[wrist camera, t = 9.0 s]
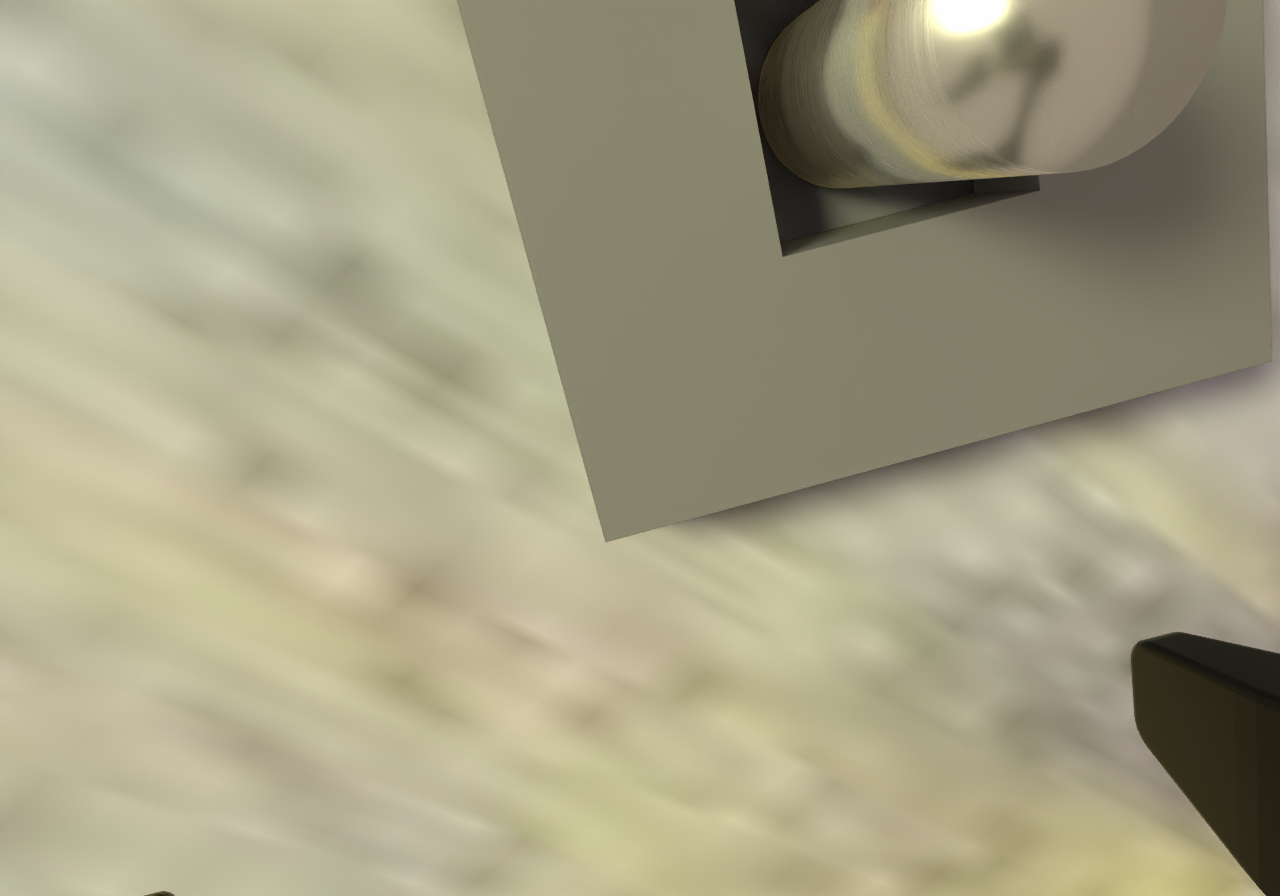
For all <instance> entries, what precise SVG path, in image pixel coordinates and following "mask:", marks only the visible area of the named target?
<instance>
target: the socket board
mask: <svg viewBox="0 0 1280 896" xmlns="http://www.w3.org/2000/svg"><path fill="white" fill-rule="evenodd" d="M457 3H458V6H459V10H460V14H461V17H462V21H463V25H464V28H465V32H466V35H467V39H468V43H469V46H470V50H471V54H472V57H473V61H474V65H475V68H476V72H477V76H478V79H479V83H480V87H481V90H482V94H483V97H484V101H485V105H486V108H487V112H488V116H489V119H490V123H491V127H492V130H493V134H494V138H495V141H496V145H497V148H498V152H499V156H500V159H501V163H502V167H503V170H504V174H505V178H506V181H507V185H508V189H509V192H510V196H511V200H512V203H513V207H514V210H515V214H516V218H517V221H518V225H519V229H520V232H521V236H522V240H523V243H524V247H525V251H526V254H527V258H528V262H529V265H530V269H531V272H532V276H533V280H534V283H535V287H536V291H537V294H538V298H539V302H540V305H541V309H542V313H543V316H544V320H545V323H546V327H547V331H548V334H549V338H550V342H551V345H552V349H553V353H554V356H555V360H556V364H557V367H558V371H559V375H560V378H561V382H562V385H563V389H564V393H565V396H566V400H567V404H568V407H569V411H570V415H571V418H572V422H573V426H574V429H575V433H576V436H577V440H578V444H579V447H580V451H581V455H582V458H583V462H584V466H585V469H586V473H587V477H588V480H589V484H590V488H591V491H592V495H593V498H594V502H595V506H596V509H597V513H598V517H599V520H600V524H601V528H602V531H603V535H604V539H605V542H609V541H612V540H616V539H620V538H624V537H627V536H631V535H635V534H638V533H642V532H646V531H649V530H653V529H657V528H660V527H664V526H668V525H671V524H675V523H679V522H682V521H686V520H690V519H693V518H697V517H701V516H704V515H708V514H712V513H715V512H719V511H723V510H726V509H730V508H734V507H738V506H741V505H745V504H749V503H752V502H756V501H760V500H763V499H767V498H771V497H774V496H778V495H782V494H785V493H789V492H793V491H796V490H800V489H804V488H807V487H811V486H815V485H818V484H822V483H826V482H829V481H833V480H837V479H840V478H844V477H848V476H851V475H855V474H859V473H863V472H866V471H870V470H874V469H877V468H881V467H885V466H888V465H892V464H896V463H899V462H903V461H907V460H910V459H914V458H918V457H921V456H925V455H929V454H932V453H936V452H940V451H943V450H947V449H951V448H954V447H958V446H962V445H965V444H969V443H973V442H977V441H980V440H984V439H988V438H991V437H995V436H999V435H1002V434H1006V433H1010V432H1013V431H1017V430H1021V429H1024V428H1028V427H1032V426H1035V425H1039V424H1043V423H1046V422H1050V421H1054V420H1057V419H1061V418H1065V417H1068V416H1072V415H1076V414H1079V413H1083V412H1087V411H1091V410H1094V409H1098V408H1102V407H1105V406H1109V405H1113V404H1116V403H1120V402H1124V401H1127V400H1131V399H1135V398H1138V397H1142V396H1146V395H1149V394H1153V393H1157V392H1160V391H1164V390H1168V389H1171V388H1175V387H1179V386H1182V385H1186V384H1190V383H1193V382H1197V381H1201V380H1204V379H1208V378H1212V377H1216V376H1219V375H1223V374H1227V373H1230V372H1234V371H1238V370H1241V369H1245V368H1249V367H1252V366H1256V365H1260V364H1263V363H1267V362H1271V361H1272V341H1271V303H1270V265H1269V227H1268V189H1267V151H1266V113H1265V75H1264V36H1263V0H1228V1H1227V7H1226V14H1225V21H1224V24H1223V28H1222V32H1221V36H1220V40H1219V43H1218V46H1217V48H1216V51H1215V54H1214V56H1213V59H1212V62H1211V64H1210V66H1209V68H1208V70H1207V72H1206V74H1205V76H1204V78H1203V80H1202V82H1201V84H1200V85H1199V87H1198V88H1197V90H1196V92H1195V93H1194V95H1193V96H1192V98H1191V99H1190V101H1189V102H1188V103H1187V105H1186V106H1185V107H1184V108H1183V110H1182V111H1181V112H1180V113H1179V115H1178V116H1177V117H1176V118H1175V119H1174V120H1173V121H1172V122H1171V123H1170V124H1169V125H1168V126H1167V127H1166V128H1165V129H1164V130H1163V131H1162V132H1161V133H1160V134H1159V135H1157V136H1156V137H1155V138H1154V139H1152V140H1151V141H1150V142H1149V143H1147V144H1146V145H1145V146H1143V147H1142V148H1140V149H1138V150H1137V151H1135V152H1133V153H1132V154H1130V155H1129V156H1126V157H1124V158H1122V159H1120V160H1118V161H1115V162H1113V163H1111V164H1108V165H1105V166H1101V167H1098V168H1095V169H1091V170H1085V171H1079V172H1070V173H1056V174H1042V175H1028V176H1014V177H999V178H985V179H973V184H974V193H973V194H969V195H965V196H961V197H957V198H953V199H950V200H946V201H942V202H938V203H934V204H930V205H926V206H922V207H919V208H915V209H911V210H907V211H903V212H899V213H895V214H891V215H888V216H884V217H880V218H876V219H872V220H868V221H864V222H860V223H857V224H853V225H849V226H845V227H841V228H837V229H833V230H829V231H826V232H822V233H818V234H814V235H810V236H806V237H802V238H798V239H795V240H791V241H787V242H783V243H780V241H779V235H778V230H777V225H776V219H775V214H774V209H773V204H772V198H771V193H770V188H769V182H768V177H767V172H766V167H765V161H764V156H763V151H762V145H761V140H760V135H759V129H758V124H757V119H756V114H755V108H754V103H753V98H752V92H751V87H750V82H749V77H748V71H747V66H746V61H745V55H744V50H743V45H742V39H741V34H740V29H739V24H738V18H737V13H736V8H735V2H734V0H457Z"/></svg>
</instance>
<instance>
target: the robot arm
mask: <svg viewBox="0 0 1280 896" xmlns="http://www.w3.org/2000/svg"><path fill="white" fill-rule="evenodd" d="M1131 671H1132V686H1133V701H1134V716H1135V722H1136V725H1137V729H1138V731H1139V733H1140V736H1141V737H1142V739H1143V741H1144V743H1145V744H1146V746H1147V747H1148V748H1149V750H1150V751H1151V752H1152V754H1153V755H1154V756H1155V757H1156V759H1157V760H1158V761H1159V762H1160V764H1161V765H1162V766H1163V768H1164V769H1165V770H1166V771H1167V773H1168V774H1169V775H1170V776H1171V778H1172V779H1173V780H1174V782H1175V783H1176V784H1177V785H1178V787H1179V788H1180V789H1181V790H1182V792H1183V793H1184V794H1185V796H1186V797H1187V798H1188V799H1189V801H1190V802H1191V803H1192V804H1193V806H1194V807H1195V808H1196V810H1197V811H1198V812H1199V813H1200V815H1201V816H1202V817H1203V818H1204V820H1205V821H1206V822H1207V824H1208V825H1209V826H1210V827H1211V829H1212V830H1213V831H1214V832H1215V834H1216V835H1217V836H1218V838H1219V839H1220V840H1221V841H1222V843H1223V844H1224V845H1225V846H1226V848H1227V849H1228V850H1229V852H1230V853H1231V854H1232V855H1233V857H1234V858H1235V859H1236V860H1237V862H1238V863H1239V864H1240V865H1241V867H1242V868H1243V869H1244V870H1245V871H1246V873H1247V874H1248V875H1249V876H1250V877H1251V879H1252V880H1253V881H1254V882H1255V883H1256V885H1257V886H1258V887H1259V888H1260V889H1261V890H1262V892H1263V893H1264V894H1265V895H1266V896H1280V654H1279V653H1274V652H1270V651H1265V650H1261V649H1256V648H1252V647H1247V646H1242V645H1238V644H1233V643H1229V642H1224V641H1220V640H1215V639H1210V638H1206V637H1201V636H1197V635H1192V634H1188V633H1182V632H1173V633H1168V634H1165V635H1161V636H1157V637H1153V638H1149V639H1145V640H1142V641H1139V642H1138V643H1137V644H1136V645H1135V646H1134V647H1133V649H1132V652H1131ZM145 896H174V895H173V894H172V893H170V892H166V891H160V892H156V893H153V894H149V895H145Z"/></svg>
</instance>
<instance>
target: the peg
mask: <svg viewBox="0 0 1280 896" xmlns="http://www.w3.org/2000/svg"><path fill="white" fill-rule="evenodd" d="M1227 1H1228V0H819V1H818V2H817V3H815V4H814V5H813V6H811V7H810V8H808V9H807V10H806V11H804V12H803V13H802V14H800V15H799V16H798V17H797V18H795V19H794V20H793V21H792V22H791V23H789V24H788V26H787V27H786V28H785V29H784V30H783V31H782V32H781V33H780V35H779V36H778V38H777V39H776V40H775V42H774V43H773V45H772V47H771V49H770V51H769V52H768V54H767V57H766V59H765V62H764V65H763V68H762V71H761V75H760V80H759V87H758V110H759V117H760V122H761V126H762V129H763V132H764V135H765V138H766V140H767V142H768V144H769V146H770V148H771V149H772V151H773V152H774V154H775V155H776V157H777V158H778V159H779V160H780V162H781V163H782V164H783V165H784V166H785V167H786V168H787V169H788V170H790V171H791V172H792V173H793V174H795V175H796V176H798V177H800V178H801V179H803V180H805V181H807V182H809V183H812V184H814V185H818V186H821V187H827V188H857V187H872V186H886V185H900V184H914V183H928V182H943V181H957V180H971V179H985V178H999V177H1014V176H1028V175H1042V174H1056V173H1070V172H1079V171H1085V170H1091V169H1095V168H1098V167H1101V166H1105V165H1108V164H1111V163H1113V162H1115V161H1118V160H1120V159H1122V158H1124V157H1126V156H1129V155H1130V154H1132V153H1133V152H1135V151H1137V150H1138V149H1140V148H1142V147H1143V146H1145V145H1146V144H1147V143H1149V142H1150V141H1151V140H1152V139H1154V138H1155V137H1156V136H1157V135H1159V134H1160V133H1161V132H1162V131H1163V130H1164V129H1165V128H1166V127H1167V126H1168V125H1169V124H1170V123H1171V122H1172V121H1173V120H1174V119H1175V118H1176V117H1177V116H1178V115H1179V113H1180V112H1181V111H1182V110H1183V108H1184V107H1185V106H1186V105H1187V103H1188V102H1189V101H1190V99H1191V98H1192V96H1193V95H1194V93H1195V92H1196V90H1197V88H1198V87H1199V85H1200V84H1201V82H1202V80H1203V78H1204V76H1205V74H1206V72H1207V70H1208V68H1209V66H1210V64H1211V62H1212V59H1213V56H1214V54H1215V51H1216V48H1217V46H1218V43H1219V40H1220V36H1221V32H1222V28H1223V24H1224V21H1225V14H1226V7H1227Z"/></svg>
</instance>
